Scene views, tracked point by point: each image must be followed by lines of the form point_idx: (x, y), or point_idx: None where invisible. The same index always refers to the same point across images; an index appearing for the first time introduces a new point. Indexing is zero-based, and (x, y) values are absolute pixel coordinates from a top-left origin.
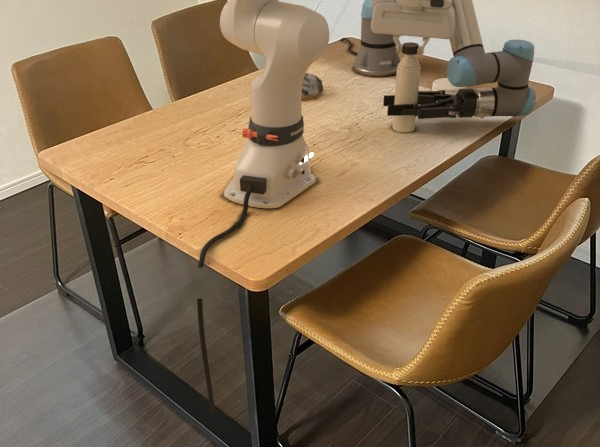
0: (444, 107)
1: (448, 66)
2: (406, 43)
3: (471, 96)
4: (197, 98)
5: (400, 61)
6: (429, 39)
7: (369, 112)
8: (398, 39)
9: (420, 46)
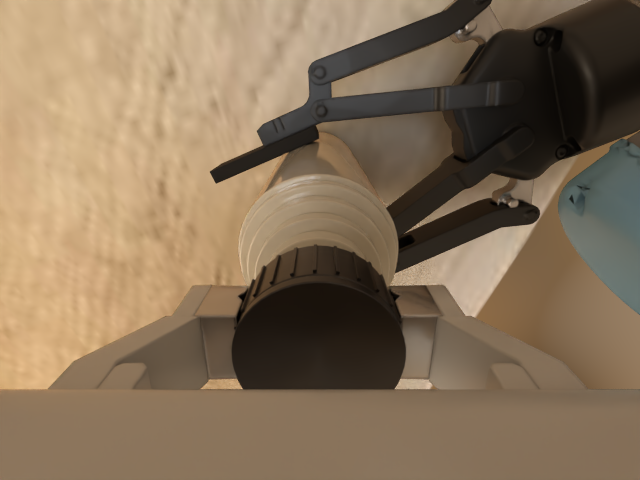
0: (486, 221)
1: (607, 231)
2: (262, 337)
3: (631, 125)
4: None
5: (251, 272)
6: (564, 378)
7: (157, 63)
8: (148, 362)
9: (422, 329)
